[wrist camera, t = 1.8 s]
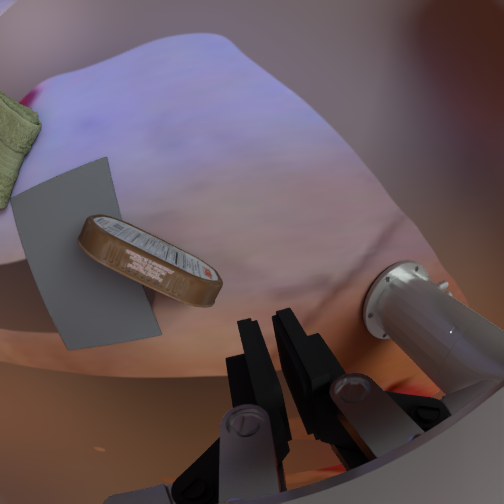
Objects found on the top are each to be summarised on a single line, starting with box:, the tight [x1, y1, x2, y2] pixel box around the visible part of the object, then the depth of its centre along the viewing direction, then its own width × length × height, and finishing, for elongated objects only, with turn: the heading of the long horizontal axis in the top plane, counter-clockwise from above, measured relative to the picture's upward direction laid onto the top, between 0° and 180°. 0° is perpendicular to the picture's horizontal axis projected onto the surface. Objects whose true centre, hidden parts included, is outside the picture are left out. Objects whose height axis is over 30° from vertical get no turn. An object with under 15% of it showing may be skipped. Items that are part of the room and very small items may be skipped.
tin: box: [77, 214, 223, 308], centre depth 26 cm, size 15×3×8 cm, turn 60°
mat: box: [10, 157, 162, 350], centre depth 29 cm, size 15×22×1 cm
